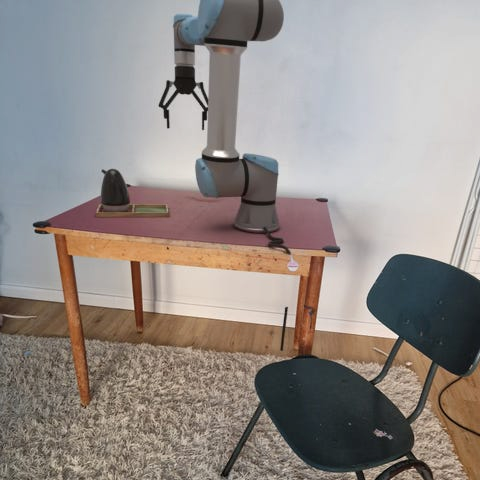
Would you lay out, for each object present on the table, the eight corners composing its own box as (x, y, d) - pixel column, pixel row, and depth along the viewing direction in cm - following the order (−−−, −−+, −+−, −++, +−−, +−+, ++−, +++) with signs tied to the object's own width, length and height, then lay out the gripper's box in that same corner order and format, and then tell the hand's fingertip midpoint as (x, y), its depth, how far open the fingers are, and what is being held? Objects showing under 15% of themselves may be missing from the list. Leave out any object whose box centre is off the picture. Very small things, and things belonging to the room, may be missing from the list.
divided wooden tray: (168, 216, 150) (168, 212, 150) (96, 216, 146) (95, 212, 145) (167, 208, 162) (167, 204, 161) (100, 208, 157) (99, 204, 156)
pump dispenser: (116, 207, 159) (112, 165, 152) (136, 212, 154) (133, 168, 147) (95, 212, 151) (90, 168, 144) (116, 217, 146) (112, 172, 139)
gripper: (218, 68, 158) (217, 129, 168) (152, 64, 157) (155, 126, 167) (218, 67, 152) (217, 131, 162) (149, 63, 150) (152, 128, 160)
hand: (185, 129), depth 164 cm, fingers open, 13 cm apart
